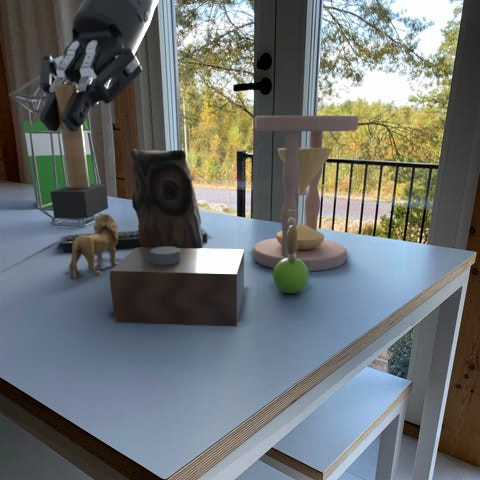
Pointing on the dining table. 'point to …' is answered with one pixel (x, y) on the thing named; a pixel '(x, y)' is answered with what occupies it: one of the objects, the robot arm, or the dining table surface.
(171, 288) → the brown wooden block
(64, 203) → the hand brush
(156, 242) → the owl
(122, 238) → the keyboard
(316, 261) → the hourglass
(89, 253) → the lion figurine
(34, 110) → the geometric lantern
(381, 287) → the dining table surface
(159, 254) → the grey short cylinder
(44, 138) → the hardback book
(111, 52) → the robot arm
